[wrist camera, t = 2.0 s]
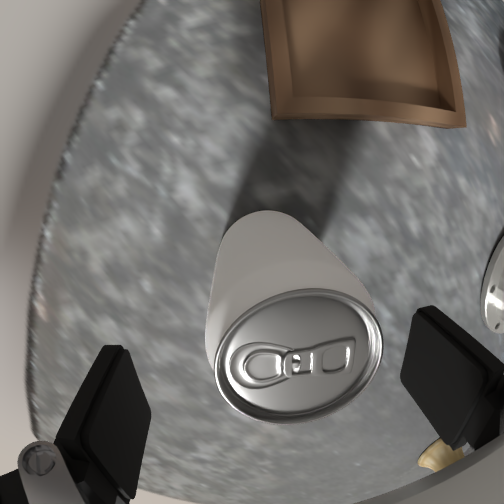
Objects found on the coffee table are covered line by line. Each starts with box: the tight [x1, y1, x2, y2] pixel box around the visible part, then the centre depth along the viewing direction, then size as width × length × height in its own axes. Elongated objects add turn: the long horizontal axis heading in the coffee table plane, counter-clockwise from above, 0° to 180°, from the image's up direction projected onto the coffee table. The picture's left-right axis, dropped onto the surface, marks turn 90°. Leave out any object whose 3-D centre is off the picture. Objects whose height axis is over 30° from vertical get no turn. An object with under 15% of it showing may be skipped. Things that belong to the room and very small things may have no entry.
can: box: [205, 210, 383, 425], centre depth 15 cm, size 6×6×12 cm
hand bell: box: [418, 438, 465, 472], centre depth 23 cm, size 8×8×16 cm
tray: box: [260, 0, 466, 129], centre depth 15 cm, size 14×14×2 cm
